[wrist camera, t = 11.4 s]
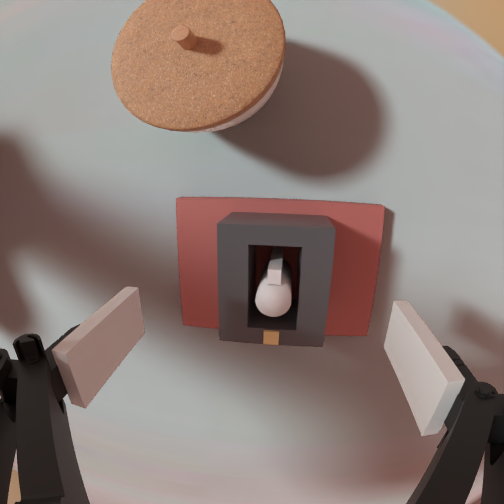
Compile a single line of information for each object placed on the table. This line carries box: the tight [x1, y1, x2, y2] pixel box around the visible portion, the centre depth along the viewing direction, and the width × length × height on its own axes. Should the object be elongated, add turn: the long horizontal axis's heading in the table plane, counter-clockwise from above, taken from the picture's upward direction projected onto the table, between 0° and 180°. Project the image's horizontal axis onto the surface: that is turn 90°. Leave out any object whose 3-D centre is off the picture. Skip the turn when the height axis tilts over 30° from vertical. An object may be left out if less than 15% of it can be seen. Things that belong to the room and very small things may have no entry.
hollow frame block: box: [217, 212, 336, 347], centre depth 21 cm, size 8×7×5 cm
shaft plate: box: [176, 197, 385, 336], centre depth 22 cm, size 16×11×7 cm
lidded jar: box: [111, 0, 286, 133], centre depth 17 cm, size 11×11×9 cm
